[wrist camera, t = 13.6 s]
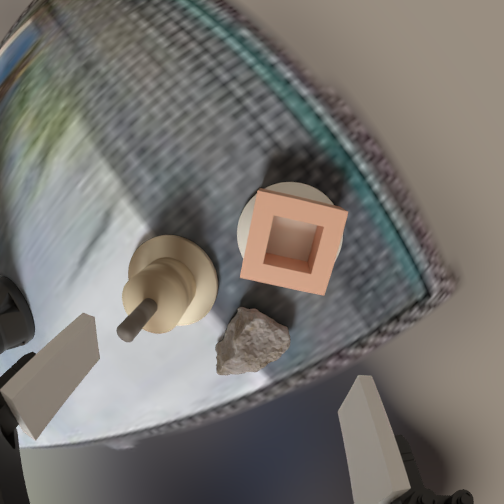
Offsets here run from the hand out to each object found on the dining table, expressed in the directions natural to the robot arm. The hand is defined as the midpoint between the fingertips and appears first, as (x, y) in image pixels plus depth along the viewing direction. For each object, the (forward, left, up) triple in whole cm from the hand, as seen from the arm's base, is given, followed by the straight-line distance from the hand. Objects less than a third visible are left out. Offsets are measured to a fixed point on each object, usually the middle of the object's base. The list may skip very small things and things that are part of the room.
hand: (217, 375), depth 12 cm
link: (+4, +3, -21) cm, 21 cm away
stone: (+2, -11, -22) cm, 25 cm away
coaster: (+3, +3, -22) cm, 22 cm away
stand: (-10, -6, -22) cm, 24 cm away
